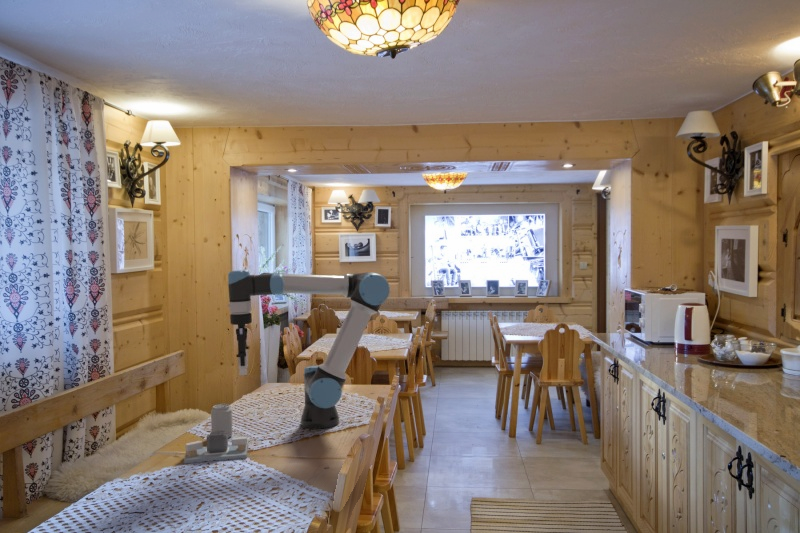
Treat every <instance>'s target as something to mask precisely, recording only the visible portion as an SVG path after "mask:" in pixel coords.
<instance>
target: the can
mask: <svg viewBox="0 0 800 533" xmlns="http://www.w3.org/2000/svg"><path fill="white" fill-rule="evenodd" d="M210 422H211V425H210V427H211V432H217V431H225V433H228V439H229V438H231V436H232V435H233V409H232V407H231V405H230V404H228V403H220V404H219V403H218V404H215V405H213V406H212V409H211V410H210Z"/></svg>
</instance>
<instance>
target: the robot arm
mask: <svg viewBox="0 0 800 533" xmlns="http://www.w3.org/2000/svg"><path fill="white" fill-rule="evenodd" d="M227 276H228V277H227V279H228V281H227V283H228V284H227V286H228V299H229V301H228V302H229V304H228V305H227V307H228V308H229V312H230V315H229V319H230V322H229V323H230V325H233V326H235V325H237V328H235V334H236V340H237V351H238V352H237V354H236V355H235V356H236V358H238V373H239V374H238V375H239V376H245V375H248V368H249V361H248V360H249V359H248V350H249V349H250V348H249V345H248V344H247V339H248V327H246V325H249V324H251V323H252V321H253V319H252V318H253V316H252V313H251V312H252V300H251V297H252V296H254V297H255V296H271V295H272V296H275V295H281V294H303V295H304V294H307V295H332V296H336V295H337V296H343V297H344V298H348V299H349V298H350V299H349V302H350V305H351V306H350V308H349V310H348V312H347V314H346V316H345V319H344V321H343V323H342V325H341V327H340V329H339V332H337V334H336V338H335V339H334V341H333V343H332V346H331V348H330V350H329V352H328V355H327V357H326V359H325V360H324V362H323V363H320V364H318V365H311V366H306V367H305V368H304V369H303V376H304V377H303V380H304V384H303V385H304V387H303V388H304V407H303V411H302V414H301V418H300V425H301V427H304V428H307V429H317V430H318V429H326V428H331V427H334V426H336V425H338V424H339V423H340V417H339V413H338V409H337V407H336V405H337V403H339V402H340V400H341V398H342V393H343V387H344V385H345V382H346V380H347V376H346V375H347V374H346V370H347V368H348V366H349V365H350V362H351V360H352V359H353V356H354V354H355V352H356V350H357V347H358V346H359V344H360V341H361V339H362V337H363V334H364V333H365V331H366V328H367V326H368V324H369V322H370V320H371V319H372V318H371V317H372V316H373V315H376V314H377V313H378V312H379V310H380V308H381V306H382V305H383V303H385V302H386V301H387V299H388V298H389V295H390V290H391V288H390V284H389V282H388V280H387V278H385V276H383V275H382V274H380V273H376V272H356V273H345V274H344V275H327V274H326V275H321V274H300V273H298V274H297V273H296V274H295V273H274V272H273V273H270V272H262V273H260V274H256V275H254V274H250V271H249V270H247V269H244V270H243V269H242V270H231V271H229V272H228V275H227Z"/></svg>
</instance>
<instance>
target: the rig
mask: <svg viewBox="0 0 800 533" xmlns="http://www.w3.org/2000/svg"><path fill="white" fill-rule="evenodd" d="M248 450H249V442H248V436H235V437H232V438H231V444H228V448H227V450H224V452H221V453H210V451H207V446H203V441H202V440H197V441H196V440H195V441H192V442H188V443H185V456H184V459H183V464H184V465H185V464H194V462H197V463H203V462H202V461H208V462H214V461H213V460H219V461H227V460H228V459H229V460H230V461H231V460H240V459H247V456H248Z"/></svg>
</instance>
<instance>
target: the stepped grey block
mask: <svg viewBox="0 0 800 533" xmlns="http://www.w3.org/2000/svg"><path fill="white" fill-rule="evenodd" d="M228 445H229V438H228V433H225V431H217V432H212V431H210V433H209V434H206V447H207V451H210V453H221V452H224V450H227V448H228Z"/></svg>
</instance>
